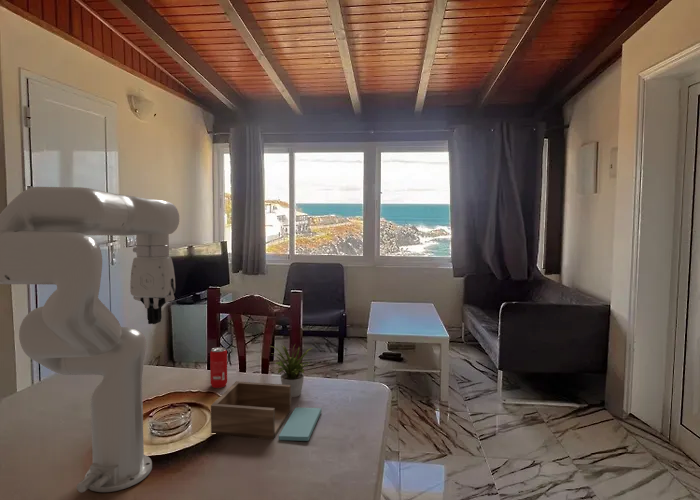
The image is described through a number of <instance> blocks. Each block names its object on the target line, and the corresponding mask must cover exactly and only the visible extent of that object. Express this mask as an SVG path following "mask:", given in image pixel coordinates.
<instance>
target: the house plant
mask: <svg viewBox="0 0 700 500" xmlns="http://www.w3.org/2000/svg"><path fill="white" fill-rule="evenodd" d="M295 346H296V344H294V345H293V347H292V353H291V356H290V353H289V352H288V349H287V347H286V346H285V345H284V344H282V345H281V347H282V349H283V352H284V354H285V356H286V358H285V357H284V356H283V354H282V352H281V351H280V350H279V349H278V348H277V347H275V346H272V345H270V347H271V348H274V349H275V350H276V351H278V353H272V355H275V357H276V358H277V359H278V360H279V361H276V362H275V363H274V364H275V365H278V366H277V367H275V366H274V367H273V368H278V367H281V368H278V371H277V374H279V373H281V372H282V373H281V375H280V382H281V384H283V385H291V398H298V397H299V396H301V393H302V388H303V383H304V377H305V374H304V373H305V369H304V368H305V367H306V366H309V365H310V364H311V362H307V361H303V362H301V361H302V360H303V359H304V357H305V356H306V355H308V353H309V351H311V350H312V349H313V347H311V348H308V349H307V350H305V352H303V354H301V356H300V355H299V354H300V347H298V348H297V349H296V350H295V351H294V348H295ZM295 353H296V355H295ZM276 355H277V356H276ZM294 355H295V357H294ZM279 356H280V357H281V359H280V357H279ZM299 356H300V357H299ZM298 357H299V358H298ZM286 359H287V360H286ZM282 360H283V361H284V362H283V361H282ZM285 364H286V365H285Z"/></svg>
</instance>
